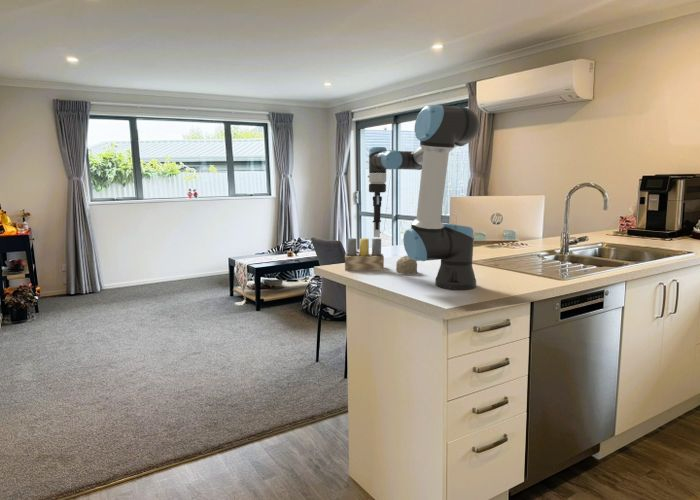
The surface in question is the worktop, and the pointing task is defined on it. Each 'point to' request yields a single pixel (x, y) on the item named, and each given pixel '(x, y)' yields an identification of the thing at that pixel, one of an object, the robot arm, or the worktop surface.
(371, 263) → the socket block
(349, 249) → the grey plug
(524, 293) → the worktop surface
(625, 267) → the worktop surface
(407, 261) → the sponge
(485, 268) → the worktop surface
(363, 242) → the mustard plug
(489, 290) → the worktop surface
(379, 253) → the grey plug
